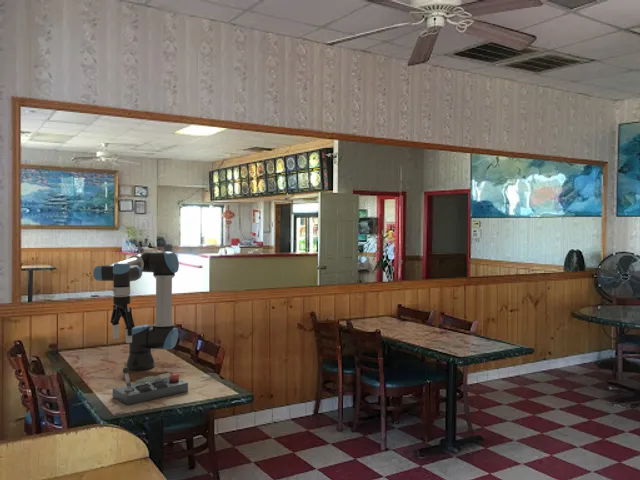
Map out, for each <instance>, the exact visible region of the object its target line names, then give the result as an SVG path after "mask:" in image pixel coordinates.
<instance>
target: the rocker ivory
mask: <svg viewBox="0 0 640 480" xmlns="http://www.w3.org/2000/svg"><path fill="white" fill-rule="evenodd" d="M170 374H171V373H170V372H165V373H160V374H158V375H156V376H155V375H154V379H155V380H153V381H157V380H162V379H165V378H168V377H170Z"/></svg>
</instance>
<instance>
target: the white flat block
mask: <svg viewBox="0 0 640 480" xmlns="http://www.w3.org/2000/svg"><path fill="white" fill-rule="evenodd" d="M154 377H155V375H150V376H146V377H142V378H140V379H136V380H134V384H136V385H138V384H143V383H147V382H150V381H153V380H155V379H154Z"/></svg>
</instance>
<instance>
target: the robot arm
mask: <svg viewBox="0 0 640 480" xmlns="http://www.w3.org/2000/svg"><path fill="white" fill-rule="evenodd" d="M179 268H180V263H179V259H178V256H177V254H176V252H173V251H167V250H166V251H145V252H144V251H143V252H141V253H136V254H134V255H130V257H129V258H127V259H123V260H121V261H117V262H114V263H110V264H107V265H103V264H102V265H96V266H95V267H94V268H93V274H92V275H93V278H94V280H95V281H98V282H113V283H112V288H113V289H112V292H113V293H112V294H113V299H112V301H113V306H112V313H111V317H110V324H112V338H113V339H112V340H117V339H120V320H121V318H122V319H123V322H124V325H125V343H126V344H128V345H129V346H128V347H129V348H128V349H129V351H128V357H127V361H126V363H125V364H126V365H125V366H126V367H127V368H128V369H129V371H143V370H149V369H152V368H154V367H155V359H154V357H153V354H152V350H172V349H174V348H175V347H176V345H177V344H178V343H177V342H178V339H179V330H178V328H177V327H175V324H174V322H173V319H172V317H173V316H172V313H173V311H172V309H173V308H172V305H173V299H172V298H173V297H172V296H173V278H174V277H175V276H176V274H175V273H177V272H178V271H179ZM143 273H152V276H153V277H154V278H155V322H154V323H153V324H152V325H151V324H141V325H136V326H135V322H134V319H133V318H134V317H133V313H132V307H131V306H128V305H130V304H131V296H130V295H131V282H135V281H138V280H139V279H141V278H142V276H143Z"/></svg>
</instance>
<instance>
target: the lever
mask: <svg viewBox="0 0 640 480" xmlns="http://www.w3.org/2000/svg"><path fill="white" fill-rule="evenodd" d="M122 373H124V379H125V386H126V385H127V388H131V379H130V375H129V373H130V370H129V369H128V368H127V367H123V369H122Z"/></svg>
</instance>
